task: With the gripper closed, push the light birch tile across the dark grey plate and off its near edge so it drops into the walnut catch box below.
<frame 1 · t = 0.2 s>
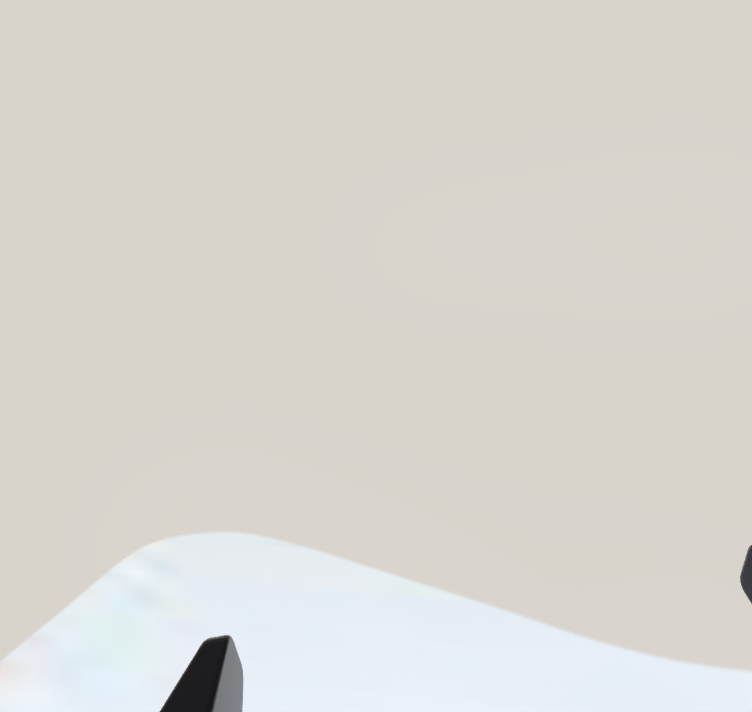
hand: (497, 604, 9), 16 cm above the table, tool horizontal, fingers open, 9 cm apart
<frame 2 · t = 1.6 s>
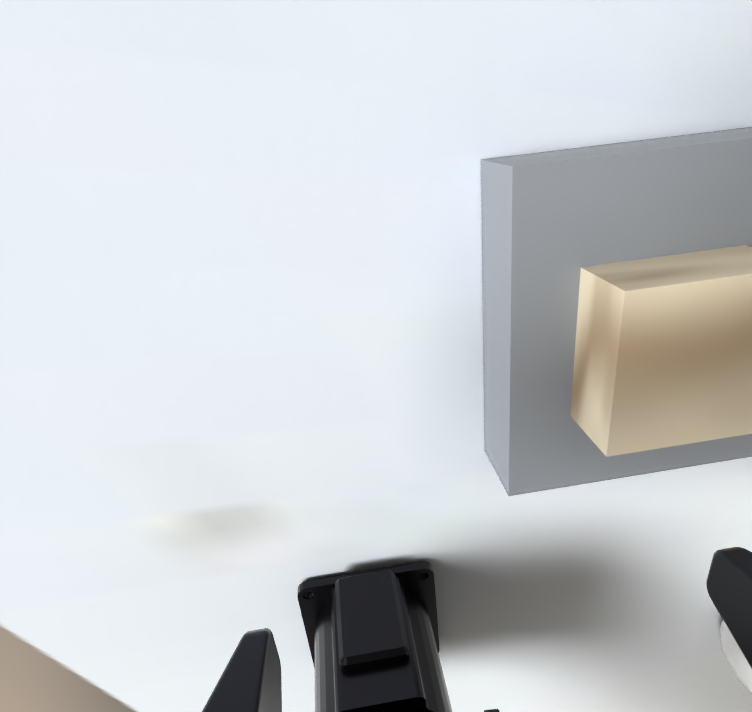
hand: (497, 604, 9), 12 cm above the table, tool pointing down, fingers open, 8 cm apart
plate: (655, 299, 20), on the table
tile: (652, 335, 17), point 3 cm above the table, touching plate
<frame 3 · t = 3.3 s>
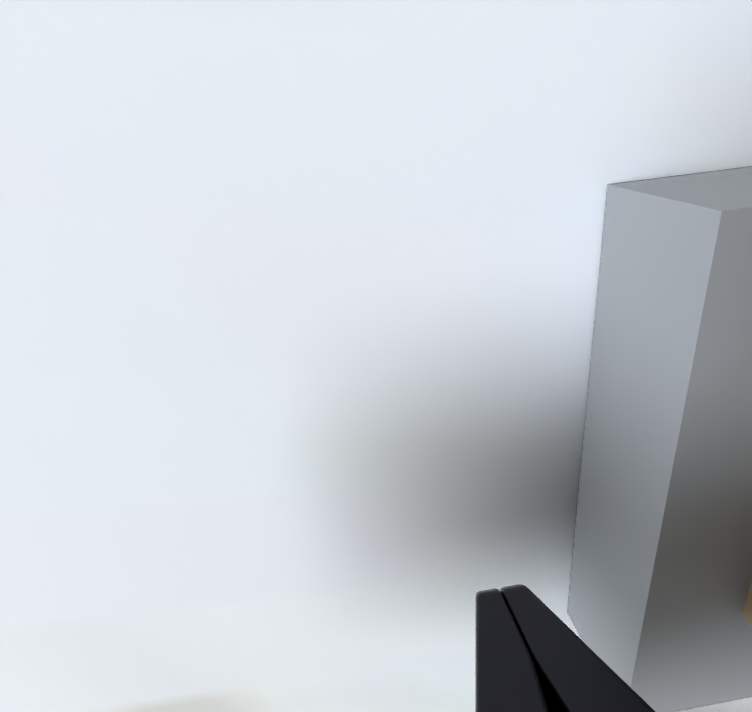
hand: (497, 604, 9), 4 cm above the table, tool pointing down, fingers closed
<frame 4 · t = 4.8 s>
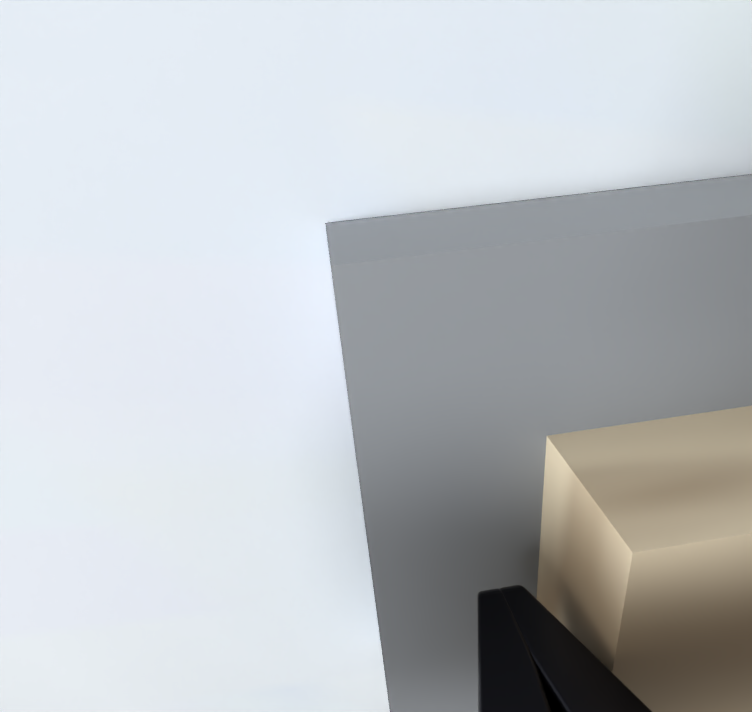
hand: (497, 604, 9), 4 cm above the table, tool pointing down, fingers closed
plate: (642, 437, 13), on the table
tile: (678, 534, 10), point 3 cm above the table, touching gripper
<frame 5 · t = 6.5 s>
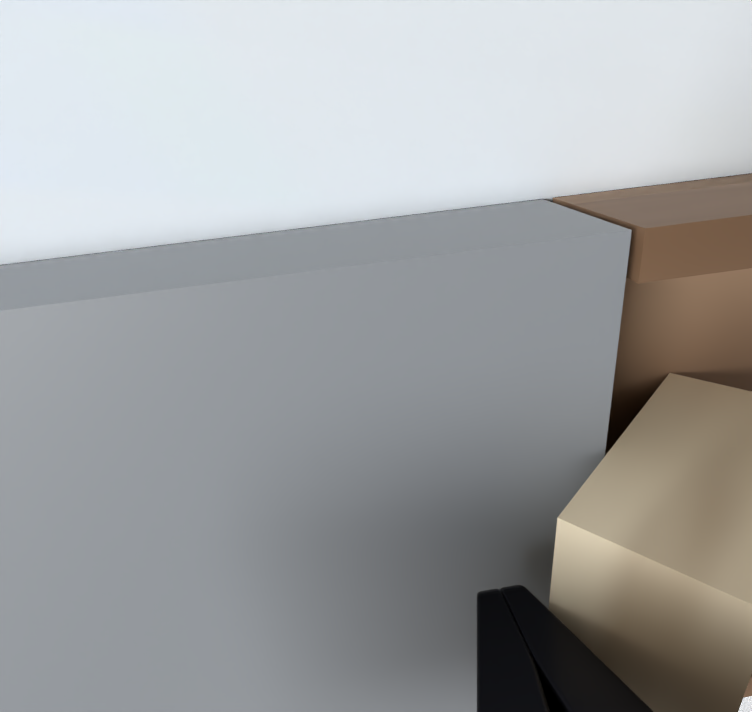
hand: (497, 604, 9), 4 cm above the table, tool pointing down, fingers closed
catch box: (748, 419, 13), on the table
plate: (241, 498, 12), on the table
tile: (606, 546, 10), point 3 cm above the table, tilted 41°, touching catch box, gripper
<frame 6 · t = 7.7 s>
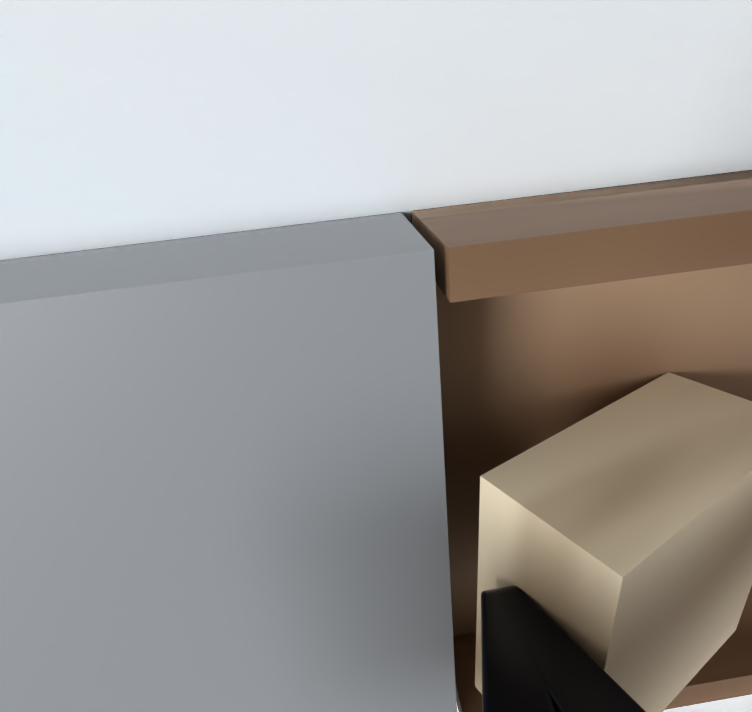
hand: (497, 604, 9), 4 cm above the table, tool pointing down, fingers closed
catch box: (644, 433, 13), on the table
plate: (124, 510, 12), on the table
tile: (572, 527, 11), point 2 cm above the table, tilted 28°, touching catch box, gripper
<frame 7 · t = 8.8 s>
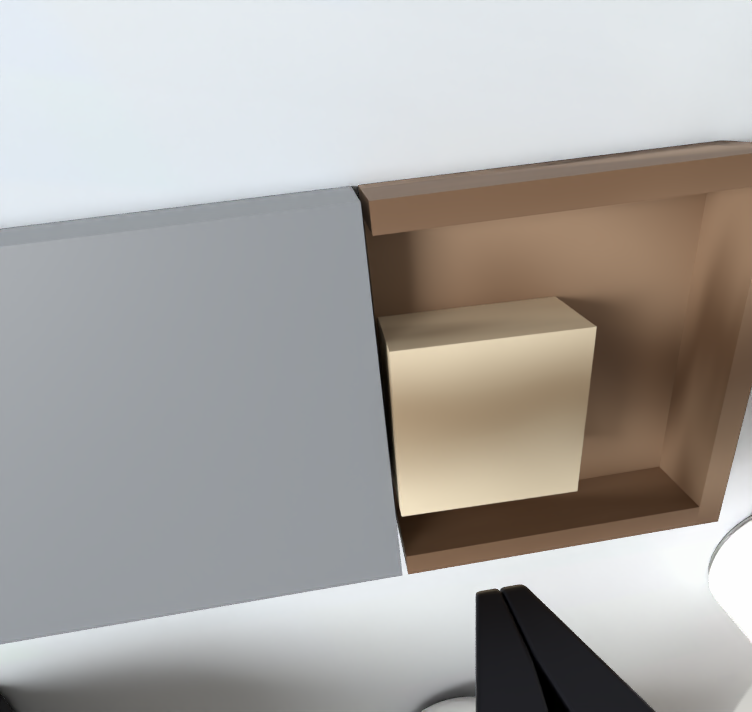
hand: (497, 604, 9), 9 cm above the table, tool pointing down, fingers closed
catch box: (536, 350, 17), on the table
plate: (159, 405, 16), on the table
tile: (467, 386, 17), point 1 cm above the table, touching catch box
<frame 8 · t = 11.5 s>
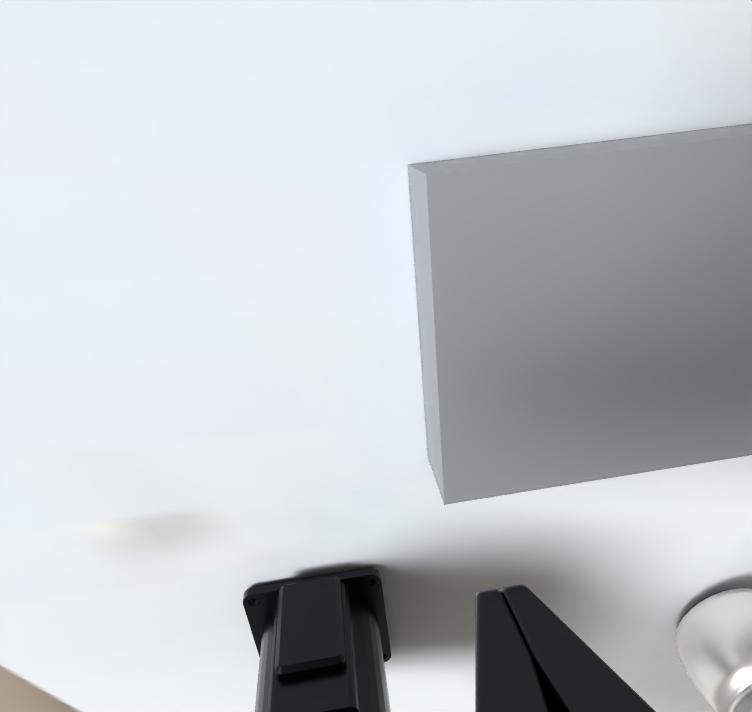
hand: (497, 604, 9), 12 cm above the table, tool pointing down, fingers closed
plate: (595, 305, 20), on the table
plastic bottle: (713, 609, 29), on the table
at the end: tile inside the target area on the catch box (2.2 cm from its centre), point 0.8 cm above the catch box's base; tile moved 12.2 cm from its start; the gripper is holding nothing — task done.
